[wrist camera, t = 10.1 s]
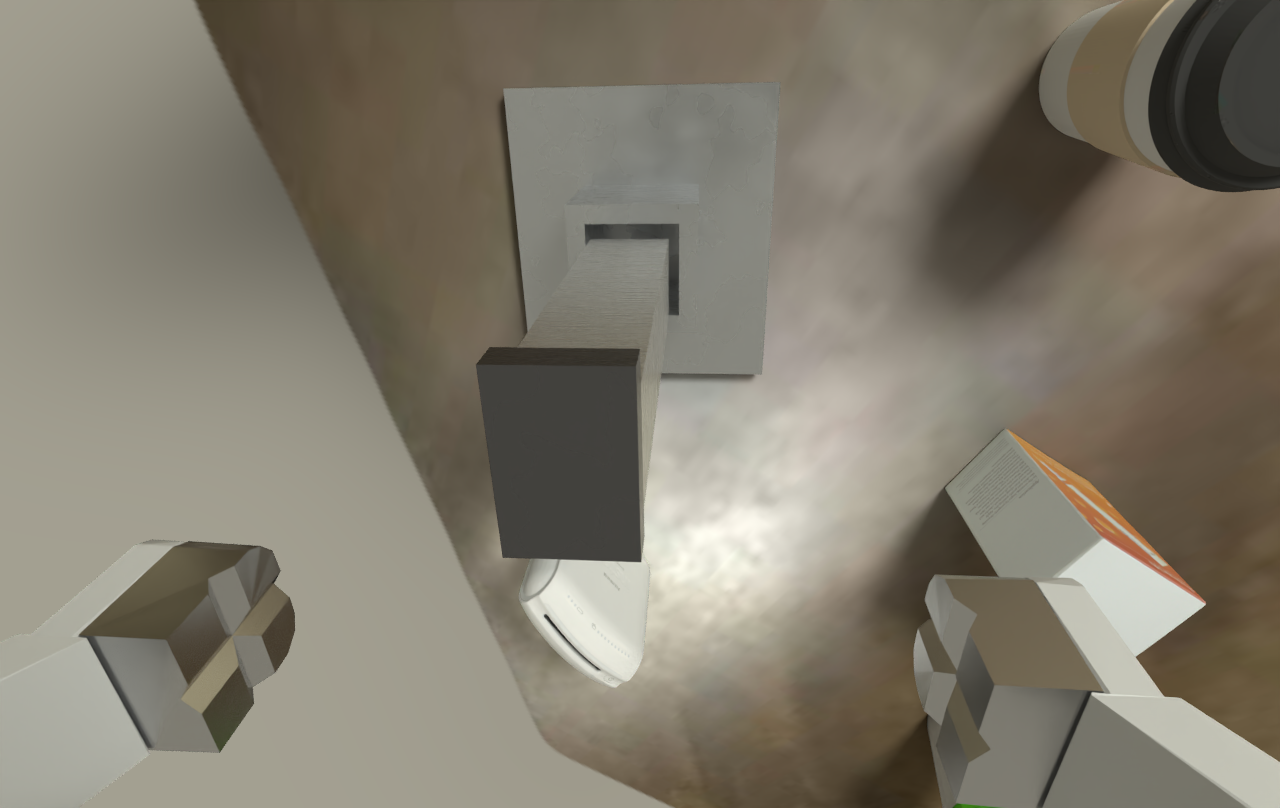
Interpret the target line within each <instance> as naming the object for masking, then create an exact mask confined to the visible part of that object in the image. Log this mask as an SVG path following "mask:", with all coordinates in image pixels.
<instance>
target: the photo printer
mask: <svg viewBox="0 0 1280 808" xmlns="http://www.w3.org/2000/svg"><path fill="white" fill-rule="evenodd" d="M649 585H650V566H649V564H648V562H647V560H646V559H645V557H644V556H643V555H642V560H641V562H617V561H588V560H559V559H530V561H529V564H528V567H527V570H526V573H525V576H524V579H523V582H522V585H521V588H520V591H519V601H520V603H521V606H522V607H523V609H524V611H525V613H526V615H527V616H528V618H529V620H530V621H531V622H532V624H533V625H534V627H535V628H536V629H537V631H538V632H539V633H540V634H541V635H542V637H543V638H544V639H545V640H546V641H547V642H548V644H549V645H550V646H551V647H552V648H553V649H554V650H555V651H556V652H557V653H558V654H559V655H560V656H561V657H562V658H563V659H564V660H566V661H567V662H568V663H569V664H570V665H571V666H573V667H574V668H575V669H577V670H578V671H579V672H581V673H582V674H583V675H585V676H587V677H588V678H590V679H592V680H593V681H595V682H597V683H600V684H602V685H605V686H608V687H611V688H616V687H617V686H618V685H619V684H621V683H623V682H627V681H628V680H630V679H631V677H632V676H633V675H634V674H635V672H636V670H637V669H638V667H639V665H640V663H641V660H642V657H643V653H644V642H645V632H646V619H647V608H648V597H649Z"/></svg>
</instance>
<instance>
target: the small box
mask: <svg viewBox="0 0 1280 808" xmlns="http://www.w3.org/2000/svg"><path fill="white" fill-rule="evenodd" d="M945 489H946V491H947V493H948V494H949V496H950V497H951V499H952V501H953V502H954V504H955V506H956V507H957V509H958V510H959V512H960V514H961V515H962V517H963V519H964V520H965V522H966V524H967V525H968V527H969V529H970V530H971V532H972V534H973V535H974V537H975V539H976V540H977V542H978V544H979V545H980V547H981V549H982V550H983V552H984V554H985V555H986V557H987V558H988V560H989V562H990V563H991V565H992V567H993V568H994V570H995V572H996V573H997V575H998V576H999V577H1016V578H1025V577H1047V578H1073V579H1074V580H1076V581H1077V582H1079V583H1080V584H1082V585H1083V586H1084V587H1085V589H1086V590H1087V592H1088V593H1089V594H1090V596H1091V597H1092V598H1093V600H1094V601H1095V603H1096V604H1097V605H1098V607H1099V608H1100V609H1101V611H1102V612H1103V614H1104V615H1105V616H1106V618H1107V619H1108V620H1109V622H1110V623H1111V625H1112V626H1113V627H1114V629H1115V630H1116V631H1117V633H1118V634H1119V636H1120V637H1121V638H1122V640H1123V641H1124V642H1125V644H1126V645H1127V646H1128V648H1129V649H1130V651H1131V652H1132V653H1133V655H1134V656H1135V657H1136V656H1137V655H1138V654H1140V653H1141V652H1143V651H1144V650H1145V649H1147V648H1148V647H1150V646H1151V645H1152V644H1154V643H1155V642H1156V641H1158V640H1159V639H1161V638H1162V637H1163V636H1165V635H1166V634H1167V633H1169V632H1170V631H1171V630H1173V629H1174V628H1175V627H1177V626H1178V625H1179V624H1181V623H1182V622H1184V621H1185V620H1186V619H1188V618H1189V617H1190V616H1192V615H1193V614H1194V613H1195V612H1197V611H1198V610H1199V609H1201V608H1202V607H1204V606H1205V605H1206V602H1205V601H1204V600H1203V599H1202V598H1201V597H1200V596H1199V595H1198V594H1197V593H1196V592H1195V591H1194V590H1193V589H1192V588H1191V587H1190V586H1189V585H1188V584H1187V583H1186V582H1185V581H1184V580H1183V579H1182V578H1181V577H1180V576H1179V575H1178V574H1177V573H1176V572H1175V571H1174V570H1173V569H1172V568H1171V567H1170V565H1169V564H1168V563H1167V562H1166V561H1165V560H1164V559H1163V558H1162V557H1161V556H1160V555H1159V554H1158V553H1157V552H1156V551H1155V550H1154V549H1153V548H1152V547H1151V546H1150V545H1149V544H1148V543H1147V541H1146V540H1145V539H1144V538H1143V537H1142V536H1141V535H1140V534H1139V533H1138V532H1137V531H1136V530H1135V529H1134V528H1133V527H1132V526H1131V525H1130V524H1129V523H1128V522H1127V521H1126V520H1125V519H1124V518H1123V517H1122V516H1121V515H1120V514H1119V513H1118V512H1117V511H1116V510H1115V509H1114V507H1113V506H1112V505H1111V504H1110V503H1109V502H1108V501H1107V500H1106V499H1105V498H1104V497H1103V496H1102V495H1101V494H1100V493H1099V492H1098V491H1097V489H1096V488H1095V487H1094V486H1093V485H1092V484H1091V483H1090V482H1089V481H1087V480H1086V479H1084V478H1082V477H1081V476H1079V475H1077V474H1075V473H1074V472H1072V471H1070V470H1069V469H1067V468H1066V467H1064V466H1062V465H1061V464H1059V463H1058V462H1056V461H1055V460H1053V459H1052V458H1050V457H1048V456H1047V455H1045V454H1044V453H1042V452H1041V451H1039V450H1038V449H1036V448H1035V447H1033V446H1032V445H1030V444H1029V443H1027V442H1026V441H1024V440H1023V439H1021V438H1020V437H1018V436H1017V435H1015V434H1014V433H1012V432H1011V431H1010V430H1008V429H1003V430H1002V431H1001V432H1000V433H999V434H998V435H997V436H996V437H995V438H994V439H993V440H992V442H991V443H989V444H988V445H987V446H986V447H985V448H984V449H983V450H982V451H981V452H980V453H979V454H978V455H977V456H976V457H975V458H974V459H973V460H972V461H971V462H970V463H969V464H968V465H967V466H966V467H965V468H964V469H963V470H962V471H961V472H960V473H959V474H958V475H957V476H956V477H955V478H954V479H953V480H952V481H951V482H950V483H949V484H948V485H947V486H946V488H945Z"/></svg>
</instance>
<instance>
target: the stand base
mask: <svg viewBox="0 0 1280 808" xmlns="http://www.w3.org/2000/svg"><path fill="white" fill-rule="evenodd" d="M503 90H504V100H505V110H506V120H507V130H508V140H509V150H510V160H511V170H512V180H513V190H514V200H515V210H516V220H517V230H518V240H519V250H520V260H521V270H522V280H523V290H524V300H525V310H526V320H527V330H528V331H529V329H530V328H531V326H532V325H533V324H534V322H535V321H536V319H537V318H538V316H539V315H540V313H541V312H542V310H543V309H544V307H545V306H546V304H547V303H548V301H549V300H550V298H551V297H552V295H553V294H554V293H555V291H556V290H557V288H558V287H559V285H560V284H561V282H562V281H563V279H564V278H565V276H566V275H567V273H568V272H569V270H570V269H571V267H572V266H573V264H574V263H575V262H576V260H577V259H578V257H579V256H580V254H581V253H582V251H583V250H584V248H585V247H586V245H587V244H588V242H589V241H590V239H669V317H668V325H667V333H666V340H665V348H664V356H663V364H662V371H661V373H685V374H762V366H763V350H764V334H765V318H766V302H767V286H768V270H769V254H770V238H771V222H772V206H773V190H774V175H775V159H776V143H777V127H778V111H779V95H780V82H763V83H721V84H678V85H635V86H592V87H549V88H508V89H503Z"/></svg>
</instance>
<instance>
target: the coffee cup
mask: <svg viewBox="0 0 1280 808" xmlns="http://www.w3.org/2000/svg"><path fill="white" fill-rule="evenodd" d="M1039 98H1040V103H1041V107H1042V109H1043V112H1044V114H1045V116H1046V118H1047V119H1048V121H1049V122H1050V123H1051V124H1052V125H1053V126H1054V127H1055V128H1056V129H1057V130H1059V131H1060V132H1062V133H1063V134H1065V135H1067V136H1070V137H1073V138H1076V139H1079V140H1082V141H1085V142H1088V143H1090V144H1091V145H1093V146H1094V147H1096V148H1098V149H1100V150H1102V151H1105V152H1107V153H1110V154H1113V155H1115V156H1118V157H1121V158H1123V159H1126V160H1129V161H1131V162H1134V163H1137V164H1139V165H1142V166H1145V167H1147V168H1150V169H1153V170H1155V171H1158V172H1161V173H1164V174H1166V175H1170V176H1174V177H1179V178H1182V179H1184V180H1185V181H1187V182H1189V183H1191V184H1193V185H1196V186H1198V187H1201V188H1205V189H1208V190H1213V191H1221V192H1243V191H1251V190H1267V189H1275V188H1280V0H1123V1H1120V2H1117V3H1114V4H1111V5H1108V6H1104V7H1101V8H1098V9H1096V10H1093V11H1091V12H1089V13H1087V14H1085V15H1084V16H1082V17H1080V18H1079V19H1077V20H1076V21H1075V22H1073V23H1072V24H1071V25H1070V26H1069V27H1068V28H1067V29H1066V30H1065V31H1064V32H1063V33H1062V34H1061V35H1060V36H1059V37H1058V39H1057V40H1056V41H1055V43H1054V44H1053V46H1052V47H1051V49H1050V51H1049V52H1048V54H1047V57H1046V59H1045V61H1044V64H1043V67H1042V70H1041V74H1040V80H1039Z"/></svg>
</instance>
